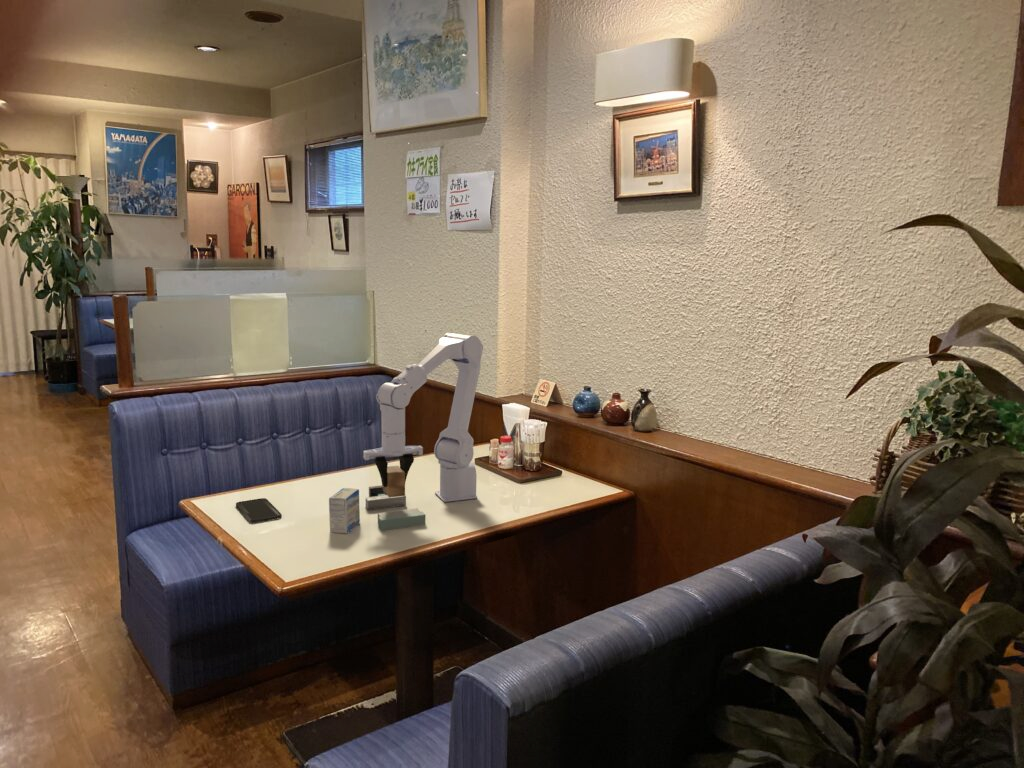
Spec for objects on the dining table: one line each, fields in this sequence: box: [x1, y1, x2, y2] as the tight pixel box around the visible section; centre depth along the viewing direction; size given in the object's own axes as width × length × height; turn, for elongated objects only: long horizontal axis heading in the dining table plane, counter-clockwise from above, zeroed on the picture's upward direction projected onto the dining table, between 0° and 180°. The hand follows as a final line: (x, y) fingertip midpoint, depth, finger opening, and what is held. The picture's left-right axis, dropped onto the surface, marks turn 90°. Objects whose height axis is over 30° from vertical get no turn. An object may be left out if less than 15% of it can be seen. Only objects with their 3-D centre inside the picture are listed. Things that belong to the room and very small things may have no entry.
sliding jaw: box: [365, 484, 407, 511], centre depth 201 cm, size 10×9×3 cm
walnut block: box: [383, 465, 406, 497], centre depth 190 cm, size 4×6×6 cm, turn 25°
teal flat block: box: [377, 507, 426, 531], centre depth 187 cm, size 11×5×2 cm, turn 115°
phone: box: [235, 497, 282, 524], centre depth 193 cm, size 8×1×15 cm
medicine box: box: [328, 487, 361, 534], centre depth 183 cm, size 8×4×9 cm, turn 168°
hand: (393, 484), depth 191 cm, fingers closed on walnut block, 4 cm apart
